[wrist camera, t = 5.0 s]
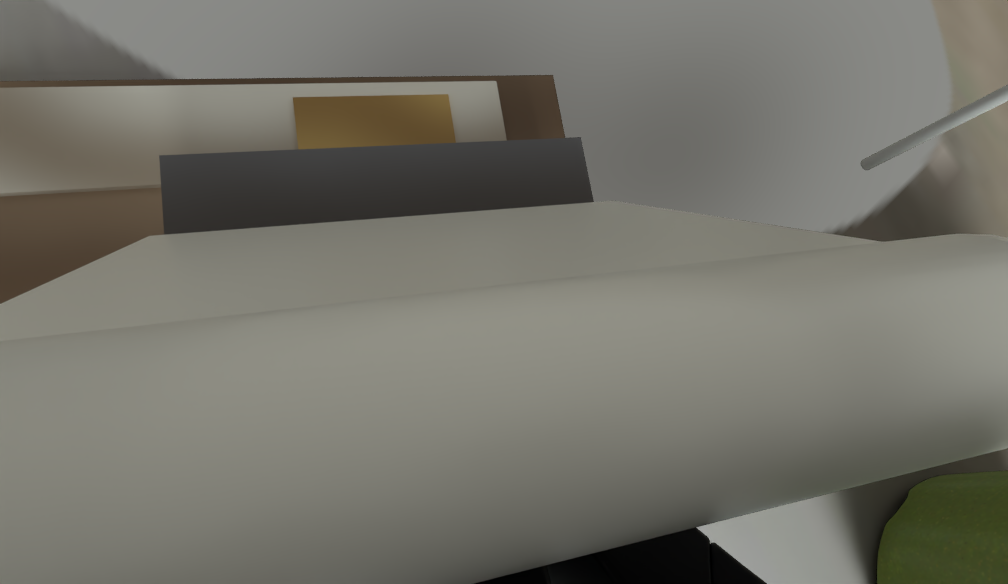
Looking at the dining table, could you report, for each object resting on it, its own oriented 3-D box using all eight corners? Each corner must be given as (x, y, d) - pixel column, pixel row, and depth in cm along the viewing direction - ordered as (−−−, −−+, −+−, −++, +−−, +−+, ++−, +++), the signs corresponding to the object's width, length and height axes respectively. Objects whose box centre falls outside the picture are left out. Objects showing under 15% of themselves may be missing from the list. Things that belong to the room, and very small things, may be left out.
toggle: (612, 265, 15) (1147, 467, 5) (164, 314, 12) (-457, 932, 2) (612, 183, 14) (1202, 238, 5) (145, 215, 11) (-724, 502, 2)
